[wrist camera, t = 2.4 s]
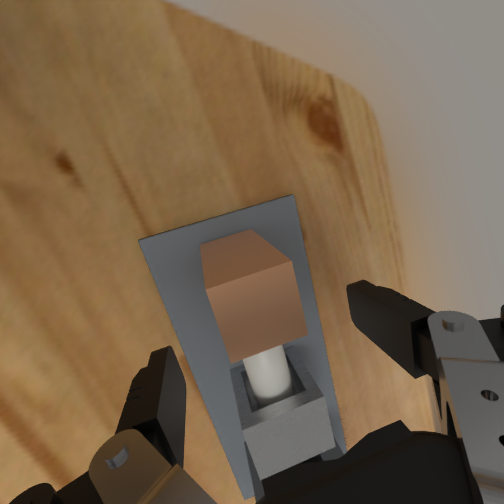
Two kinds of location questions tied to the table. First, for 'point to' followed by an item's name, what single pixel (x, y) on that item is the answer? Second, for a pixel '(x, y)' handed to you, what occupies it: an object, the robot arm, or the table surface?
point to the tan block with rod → (255, 309)
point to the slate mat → (205, 326)
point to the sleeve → (283, 420)
